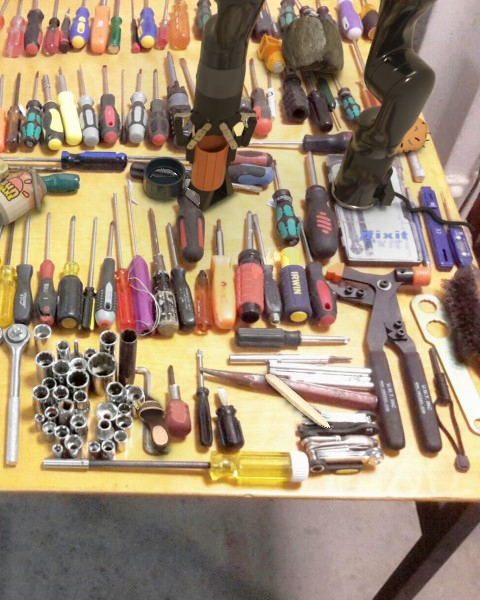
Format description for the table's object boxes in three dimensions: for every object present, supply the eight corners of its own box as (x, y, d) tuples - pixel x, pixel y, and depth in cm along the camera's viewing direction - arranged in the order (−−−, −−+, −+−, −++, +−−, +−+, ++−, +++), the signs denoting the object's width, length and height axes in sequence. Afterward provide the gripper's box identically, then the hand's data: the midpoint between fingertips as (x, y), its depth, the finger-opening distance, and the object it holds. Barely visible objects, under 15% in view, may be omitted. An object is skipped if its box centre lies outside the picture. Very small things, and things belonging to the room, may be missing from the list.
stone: (270, 31, 154) (299, 32, 164) (288, 88, 155) (316, 86, 165) (316, 3, 145) (344, 6, 155) (336, 64, 145) (362, 64, 155)
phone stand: (201, 211, 135) (207, 170, 125) (184, 195, 138) (188, 154, 128) (233, 193, 137) (241, 151, 128) (215, 178, 141) (222, 136, 131)
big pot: (183, 173, 142) (185, 156, 138) (184, 202, 137) (186, 186, 133) (143, 173, 143) (144, 156, 139) (143, 202, 138) (143, 185, 134)
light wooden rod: (326, 435, 105) (328, 431, 103) (262, 379, 111) (263, 374, 110) (332, 429, 105) (335, 425, 104) (268, 373, 112) (269, 369, 111)
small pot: (222, 168, 119) (228, 130, 111) (223, 191, 115) (230, 154, 108) (190, 168, 119) (194, 130, 112) (190, 190, 116) (194, 153, 108)
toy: (415, 116, 145) (424, 102, 140) (434, 151, 141) (445, 137, 137) (364, 129, 145) (372, 115, 140) (383, 164, 141) (391, 151, 136)
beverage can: (11, 237, 135) (54, 208, 139) (5, 211, 128) (51, 181, 132) (-14, 212, 139) (28, 185, 143) (-21, 186, 132) (24, 158, 136)
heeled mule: (157, 394, 111) (157, 384, 108) (176, 451, 105) (177, 442, 102) (132, 400, 111) (132, 390, 108) (151, 458, 105) (150, 449, 101)
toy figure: (264, 76, 158) (256, 51, 166) (284, 80, 159) (276, 55, 166) (272, 57, 154) (264, 32, 161) (293, 61, 155) (284, 35, 162)
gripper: (173, 96, 98) (169, 175, 112) (268, 96, 97) (251, 176, 111) (174, 67, 103) (169, 146, 116) (264, 67, 101) (248, 147, 115)
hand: (209, 161), depth 113 cm, fingers closed on small pot, 6 cm apart
